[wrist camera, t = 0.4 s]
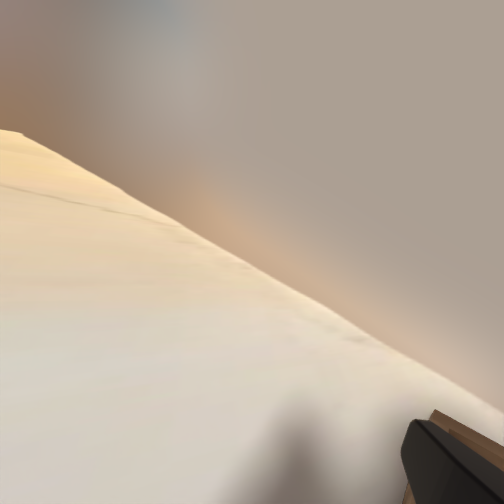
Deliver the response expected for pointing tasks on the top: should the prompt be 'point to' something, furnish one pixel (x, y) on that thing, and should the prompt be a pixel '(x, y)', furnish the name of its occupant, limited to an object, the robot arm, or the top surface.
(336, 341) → the top surface
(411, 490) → the robot arm
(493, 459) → the walnut bay
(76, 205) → the top surface
